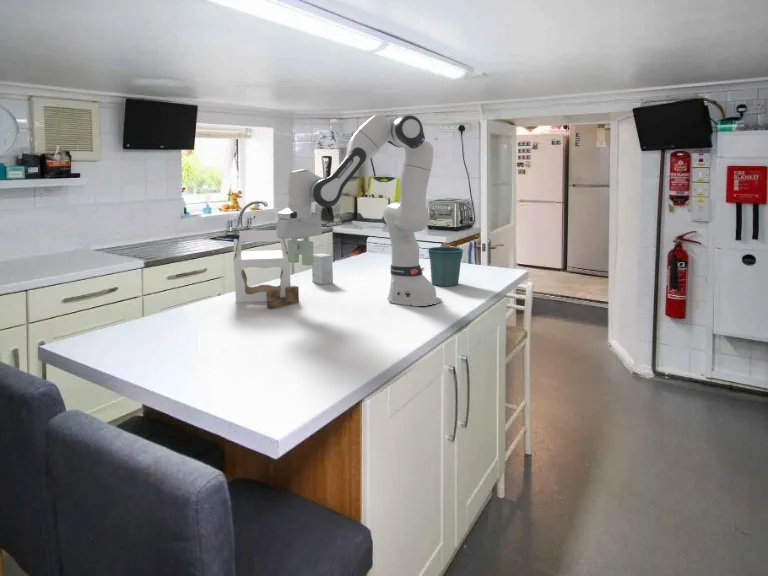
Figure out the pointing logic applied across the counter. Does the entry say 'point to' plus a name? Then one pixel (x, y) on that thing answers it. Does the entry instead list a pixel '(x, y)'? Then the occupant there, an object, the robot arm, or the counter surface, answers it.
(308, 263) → the crosspiece
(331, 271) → the small box
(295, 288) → the upright
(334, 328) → the counter surface
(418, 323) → the counter surface
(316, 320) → the counter surface
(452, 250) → the flower pot
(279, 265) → the gable box
